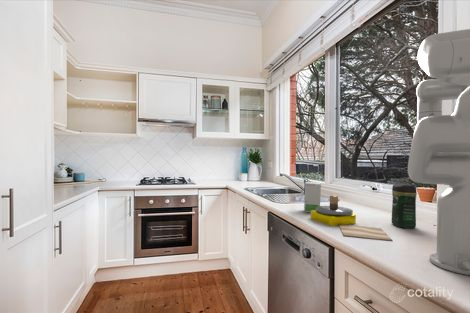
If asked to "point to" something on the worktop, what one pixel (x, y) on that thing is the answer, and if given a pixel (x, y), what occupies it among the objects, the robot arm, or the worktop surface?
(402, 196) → the coffee jar
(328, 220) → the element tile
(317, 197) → the skincare box
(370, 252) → the worktop surface
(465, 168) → the robot arm
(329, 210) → the lid
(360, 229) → the mat
